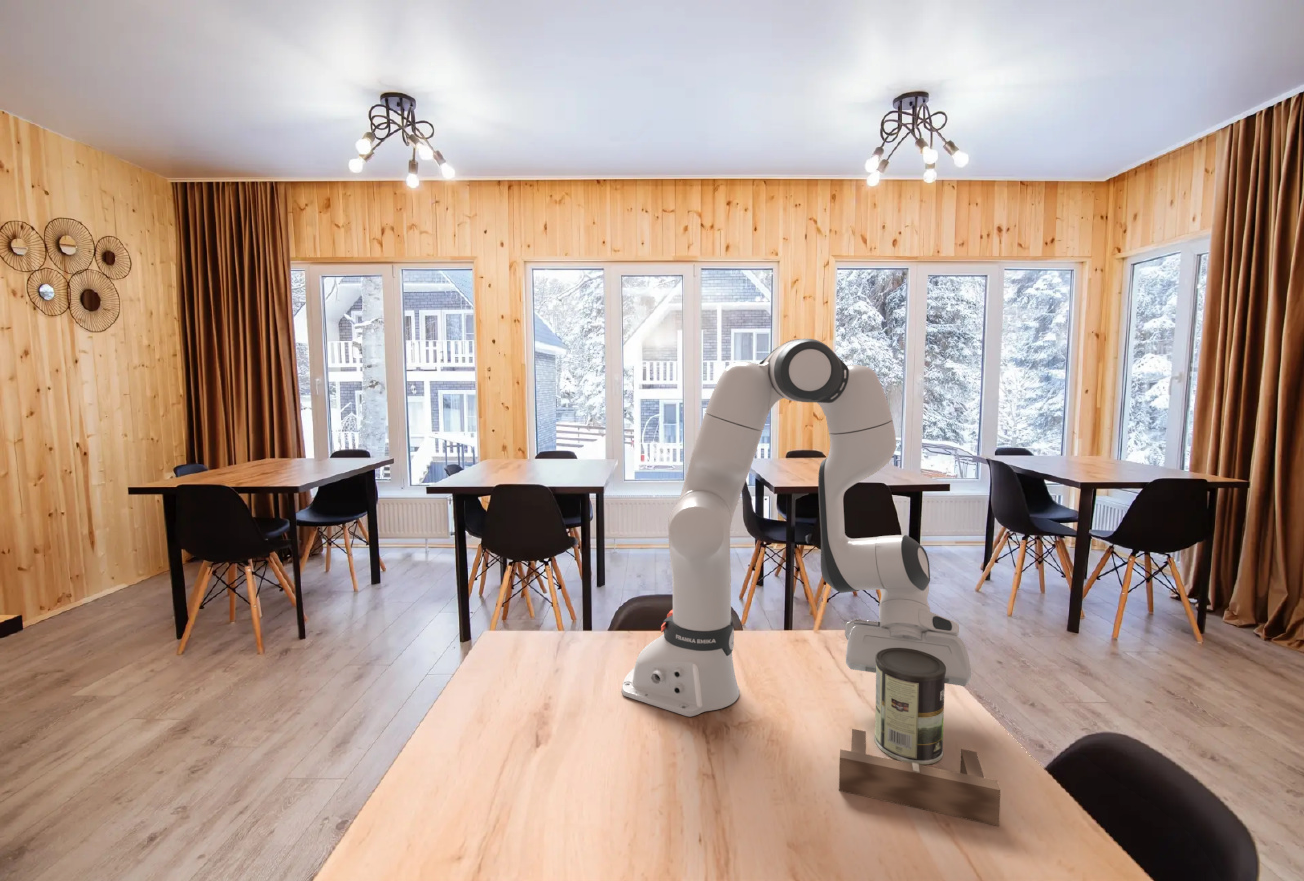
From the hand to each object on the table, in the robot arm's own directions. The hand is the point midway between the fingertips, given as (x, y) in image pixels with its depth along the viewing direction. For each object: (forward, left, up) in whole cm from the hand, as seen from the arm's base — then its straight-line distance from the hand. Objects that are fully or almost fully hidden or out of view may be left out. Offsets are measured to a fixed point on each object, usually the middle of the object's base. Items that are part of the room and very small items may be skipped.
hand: (906, 702), depth 97 cm
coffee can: (0, -6, -5) cm, 7 cm away
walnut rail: (0, -17, -4) cm, 17 cm away
